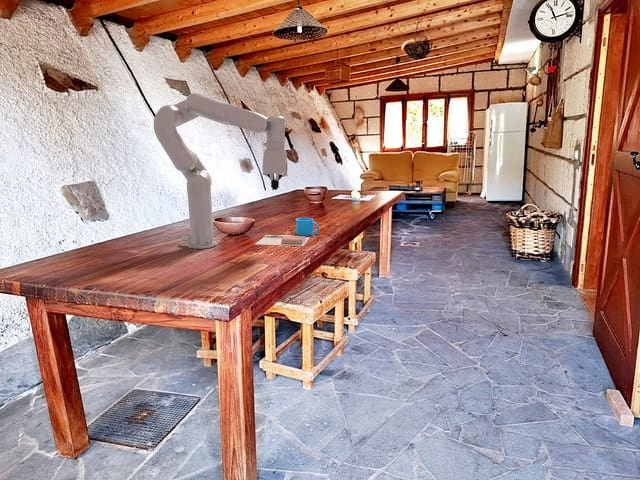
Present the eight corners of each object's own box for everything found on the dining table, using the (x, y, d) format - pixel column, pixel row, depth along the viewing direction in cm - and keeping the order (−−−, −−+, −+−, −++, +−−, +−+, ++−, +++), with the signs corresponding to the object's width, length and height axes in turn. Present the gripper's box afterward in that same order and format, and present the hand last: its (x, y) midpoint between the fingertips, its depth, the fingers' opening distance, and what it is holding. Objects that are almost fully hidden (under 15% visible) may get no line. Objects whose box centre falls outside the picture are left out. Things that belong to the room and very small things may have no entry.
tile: (281, 239, 200) (302, 239, 199) (284, 235, 207) (304, 236, 206) (281, 243, 201) (302, 244, 200) (284, 240, 208) (305, 240, 206)
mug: (292, 236, 221) (292, 219, 219) (302, 233, 228) (301, 217, 226) (314, 239, 215) (314, 221, 214) (323, 236, 222) (323, 219, 221)
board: (254, 246, 200) (254, 244, 200) (265, 238, 218) (265, 235, 217) (303, 248, 197) (303, 245, 197) (310, 239, 215) (310, 237, 214)
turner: (262, 237, 213) (262, 236, 212) (265, 235, 217) (265, 234, 217) (297, 238, 210) (297, 237, 210) (299, 236, 215) (299, 235, 215)
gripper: (256, 145, 196) (255, 189, 200) (290, 147, 194) (289, 191, 198) (261, 145, 204) (260, 187, 207) (294, 147, 201) (293, 189, 205)
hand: (274, 189), depth 202 cm, fingers closed
